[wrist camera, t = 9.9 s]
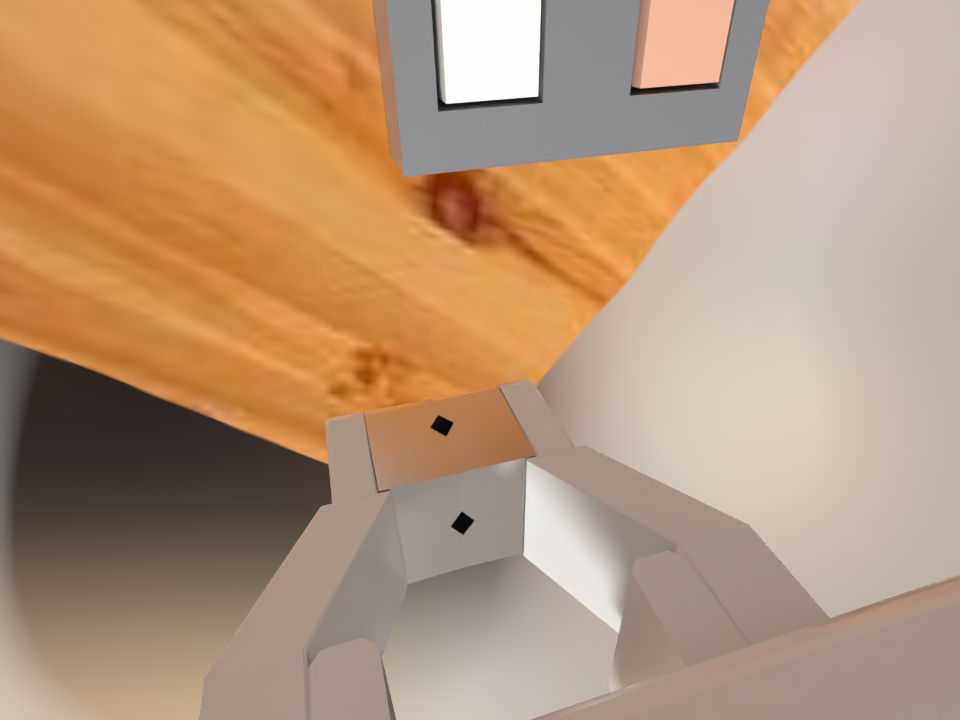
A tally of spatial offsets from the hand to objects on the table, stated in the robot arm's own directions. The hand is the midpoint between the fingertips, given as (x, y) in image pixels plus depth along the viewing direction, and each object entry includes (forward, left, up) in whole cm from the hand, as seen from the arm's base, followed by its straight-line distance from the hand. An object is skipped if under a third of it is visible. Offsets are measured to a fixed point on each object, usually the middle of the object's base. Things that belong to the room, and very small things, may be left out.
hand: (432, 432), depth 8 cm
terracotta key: (-3, +19, -27) cm, 33 cm away
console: (-3, +14, -29) cm, 32 cm away
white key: (-3, +8, -27) cm, 28 cm away
